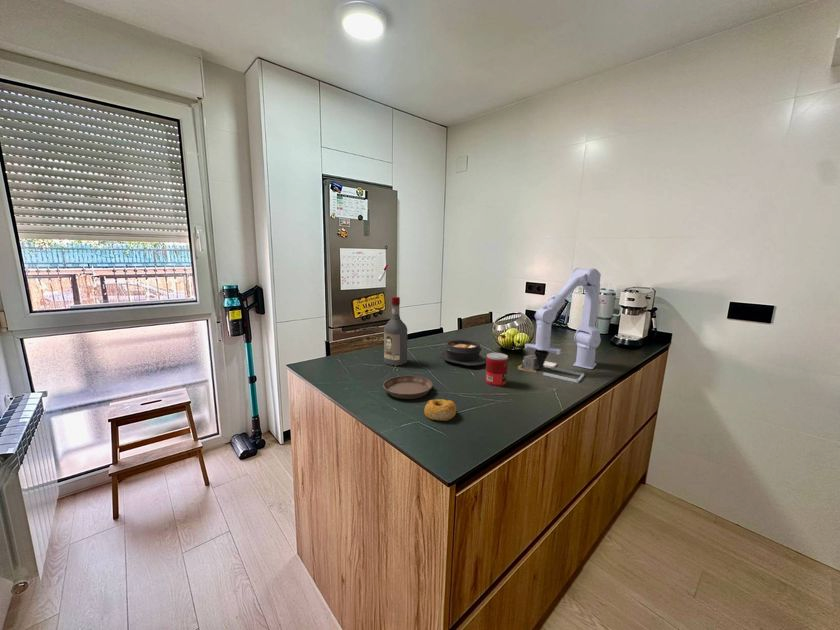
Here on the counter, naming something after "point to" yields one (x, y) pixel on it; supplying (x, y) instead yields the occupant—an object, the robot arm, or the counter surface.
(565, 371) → the metal frame
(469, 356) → the casserole
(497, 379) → the canned food
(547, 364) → the dish
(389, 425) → the counter surface
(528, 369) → the oak pen
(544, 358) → the robot arm
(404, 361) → the liquor
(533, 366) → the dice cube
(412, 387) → the plant saucer
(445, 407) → the bagel
